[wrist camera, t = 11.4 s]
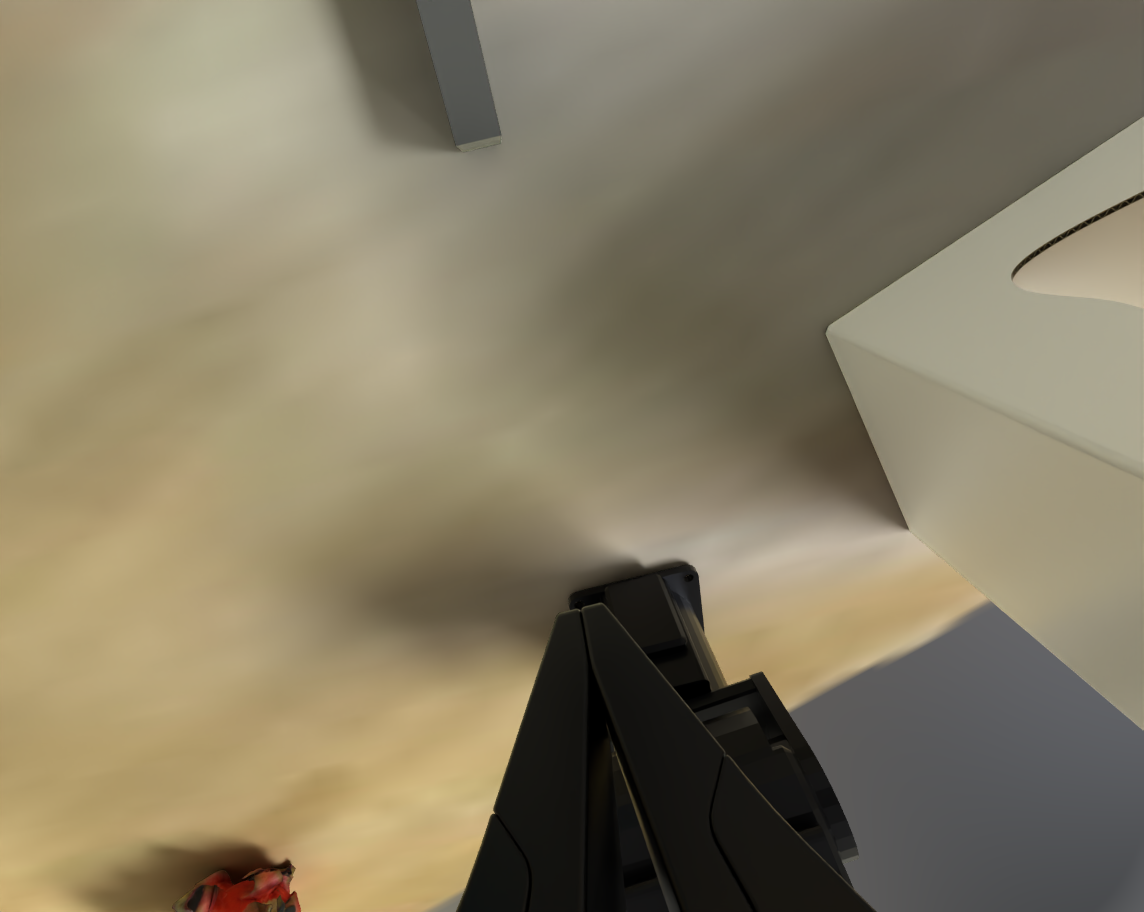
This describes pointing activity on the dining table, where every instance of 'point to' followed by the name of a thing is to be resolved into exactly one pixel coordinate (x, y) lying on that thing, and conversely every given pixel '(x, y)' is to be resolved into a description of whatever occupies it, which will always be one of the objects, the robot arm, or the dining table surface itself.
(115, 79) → the dining table surface
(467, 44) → the gear seat
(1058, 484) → the gable box
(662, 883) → the robot arm
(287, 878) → the dragon fruit
